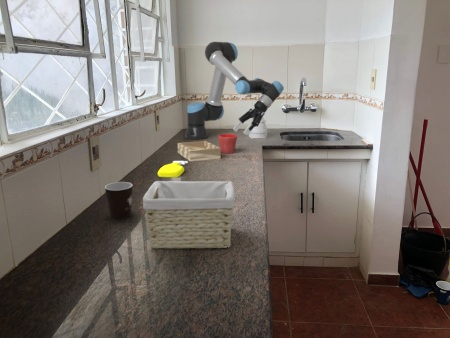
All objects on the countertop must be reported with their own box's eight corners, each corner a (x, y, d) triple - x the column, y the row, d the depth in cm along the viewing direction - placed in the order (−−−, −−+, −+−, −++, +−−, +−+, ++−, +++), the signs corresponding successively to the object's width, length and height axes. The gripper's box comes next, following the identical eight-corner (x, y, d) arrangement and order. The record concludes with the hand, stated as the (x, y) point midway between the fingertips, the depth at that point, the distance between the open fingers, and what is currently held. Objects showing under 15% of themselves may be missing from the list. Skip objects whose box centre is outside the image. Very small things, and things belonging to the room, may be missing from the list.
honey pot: (268, 138, 249) (268, 112, 245) (249, 138, 249) (249, 112, 245) (266, 135, 262) (267, 110, 257) (248, 135, 262) (248, 110, 257)
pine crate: (177, 152, 208) (177, 143, 206) (205, 150, 215) (205, 140, 213) (190, 161, 189) (190, 151, 187) (220, 158, 195) (220, 148, 194)
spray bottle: (155, 177, 162) (169, 164, 186) (180, 178, 161) (190, 165, 185) (155, 171, 161) (169, 158, 185) (179, 171, 160) (190, 159, 184)
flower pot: (237, 150, 214) (237, 133, 212) (236, 154, 204) (236, 137, 201) (219, 149, 215) (219, 133, 213) (217, 154, 205) (217, 137, 202)
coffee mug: (120, 222, 114) (117, 192, 111) (101, 216, 119) (98, 187, 116) (146, 210, 124) (144, 182, 121) (128, 205, 128) (126, 178, 125)
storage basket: (143, 251, 97) (140, 198, 93) (155, 225, 112) (153, 179, 108) (234, 252, 96) (234, 199, 92) (233, 226, 112) (234, 180, 108)
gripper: (278, 111, 201) (254, 140, 199) (256, 106, 223) (234, 133, 221) (270, 101, 198) (245, 131, 196) (248, 98, 219) (226, 125, 218)
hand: (239, 132), depth 208 cm, fingers open, 13 cm apart
